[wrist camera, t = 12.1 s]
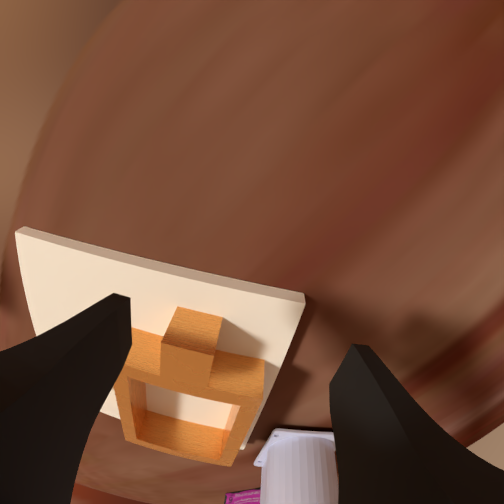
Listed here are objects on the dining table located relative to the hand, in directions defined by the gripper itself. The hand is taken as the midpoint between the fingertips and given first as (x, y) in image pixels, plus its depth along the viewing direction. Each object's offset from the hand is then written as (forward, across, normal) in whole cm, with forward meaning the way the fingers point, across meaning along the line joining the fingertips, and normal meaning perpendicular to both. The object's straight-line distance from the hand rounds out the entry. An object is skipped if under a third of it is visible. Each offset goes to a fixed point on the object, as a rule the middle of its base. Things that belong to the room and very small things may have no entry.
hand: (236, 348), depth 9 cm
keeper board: (+9, +7, +13) cm, 18 cm away
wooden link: (+8, +2, +14) cm, 17 cm away
